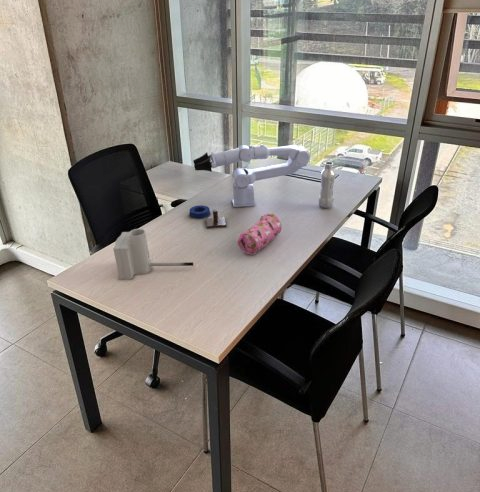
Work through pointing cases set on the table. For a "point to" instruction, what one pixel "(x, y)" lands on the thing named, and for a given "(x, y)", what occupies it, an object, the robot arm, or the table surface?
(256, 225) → the pencil case
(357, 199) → the table surface
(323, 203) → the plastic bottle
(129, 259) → the electronic device
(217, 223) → the stand
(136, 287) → the table surface
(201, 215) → the ring
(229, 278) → the table surface
